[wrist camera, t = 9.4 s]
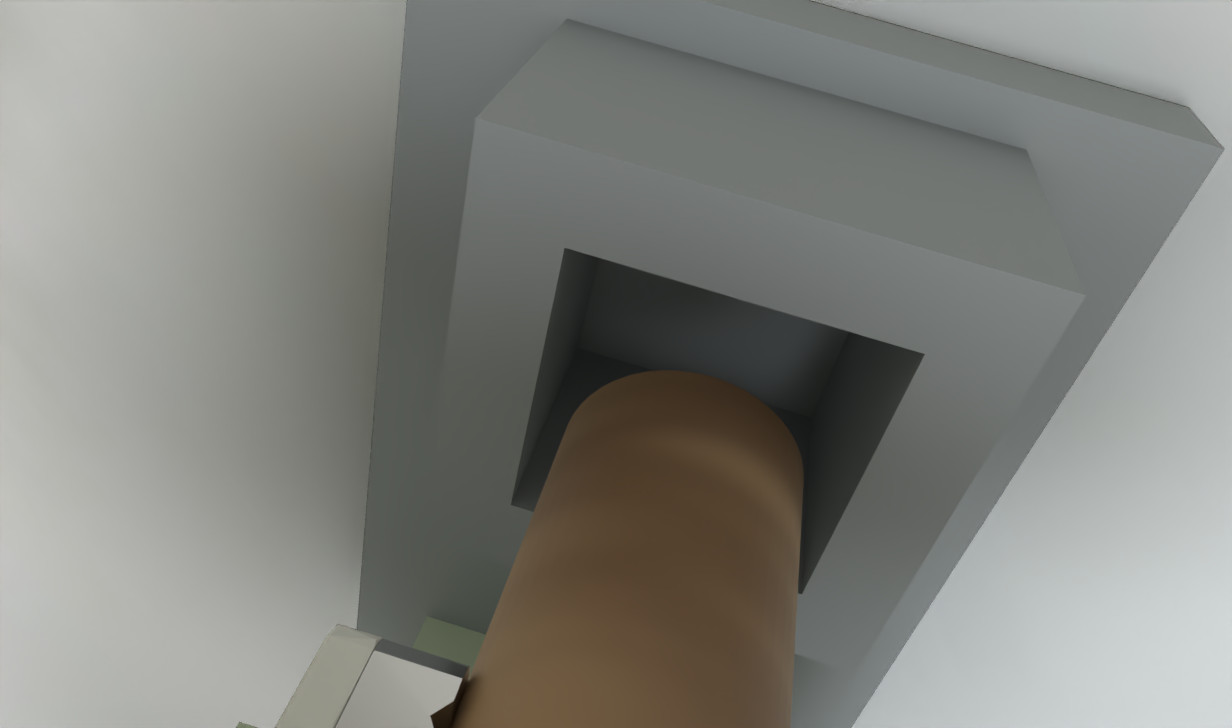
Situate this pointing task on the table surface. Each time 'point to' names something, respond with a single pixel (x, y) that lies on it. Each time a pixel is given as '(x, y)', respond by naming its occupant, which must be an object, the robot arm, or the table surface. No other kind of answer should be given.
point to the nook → (743, 283)
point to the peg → (652, 569)
